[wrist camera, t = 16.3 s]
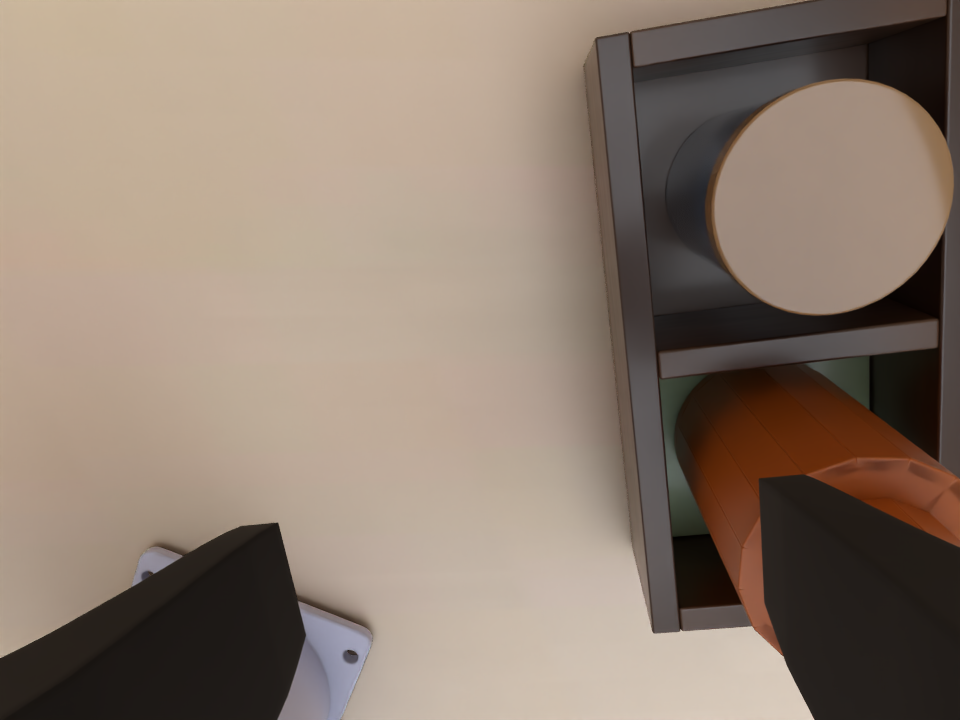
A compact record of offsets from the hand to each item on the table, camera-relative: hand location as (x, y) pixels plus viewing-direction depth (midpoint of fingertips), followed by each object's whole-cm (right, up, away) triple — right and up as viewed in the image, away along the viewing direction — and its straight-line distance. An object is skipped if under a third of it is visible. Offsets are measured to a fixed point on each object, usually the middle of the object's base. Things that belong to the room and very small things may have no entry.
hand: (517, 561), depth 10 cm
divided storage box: (+7, +4, +9) cm, 12 cm away
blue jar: (+6, +7, +8) cm, 12 cm away
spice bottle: (+7, +1, +9) cm, 12 cm away
